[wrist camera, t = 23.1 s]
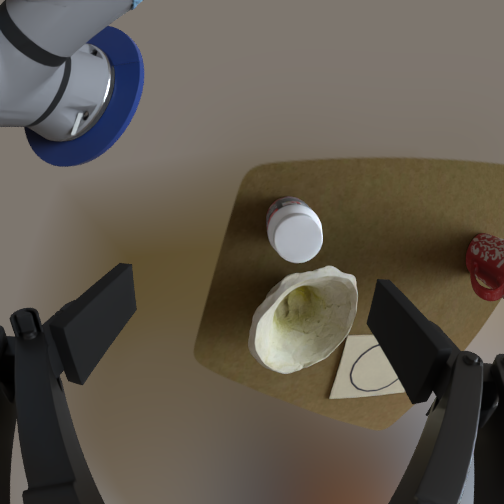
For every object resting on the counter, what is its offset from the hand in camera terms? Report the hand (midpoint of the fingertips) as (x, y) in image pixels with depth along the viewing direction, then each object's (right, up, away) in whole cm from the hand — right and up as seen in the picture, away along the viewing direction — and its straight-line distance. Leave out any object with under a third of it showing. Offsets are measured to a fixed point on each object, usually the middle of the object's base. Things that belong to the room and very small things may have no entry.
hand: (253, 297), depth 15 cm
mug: (+36, +2, +23) cm, 43 cm away
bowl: (+7, -4, +25) cm, 26 cm away
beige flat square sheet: (+22, -17, +29) cm, 40 cm away
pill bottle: (+5, +7, +22) cm, 23 cm away
